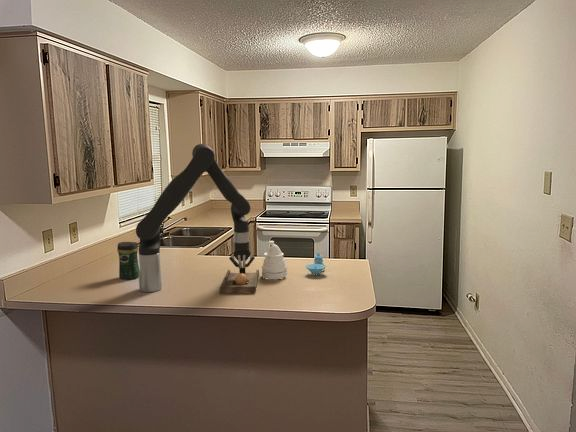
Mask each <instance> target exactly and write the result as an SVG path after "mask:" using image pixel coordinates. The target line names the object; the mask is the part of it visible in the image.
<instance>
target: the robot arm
mask: <svg viewBox="0 0 576 432" xmlns="http://www.w3.org/2000/svg"><path fill="white" fill-rule="evenodd" d="M191 155H192V158H191V160H190V161H189V163H188V165H187V166H186V167H185V168H184V169H183V170H182V171H181V172H180V173H178V174H177V175H176V176H175V177H173V179H172V180H171V181H170V182H169V183H168V185H166V187H165V188H164V190H163V191H162V192H161V194H160V195H159V197H158V198H157V200H156V201H155V203H154V205H153V207H152V208H151V209H150V211H149V212H148V213H147V214H146V215H145V216H144V217H143V218H142V219H141V220H140V221H139V222H138V223H137V224H136V226H135V234H136V236H137V238H138V239H139V246H138V265H139V271H138V273H139V277H138V285H139V287H138V288H139V292H143V293H154V292H159V291H161V290H162V286H163V285H162V284H163V283H162V270H161V268H162V266H161V251H160V250H161V249H160V248H161V229H160V227H161V226H162V224H163V223H164V221H165V219H167V218H168V217H169V216H170V214H171V213H172V212H174V211H175V210H176V209H177V207H178V206H179V205H181V203H182V202H183V200H184V199H185V198H186V197H187V196H188V194H189V193H190V191H191V190H192V189H193V187H194V186H195V184H196V182H197V181H198V180H199V179H200V177H201V176H202V175H203V174H204V173H205V172H206V173H207V174H208V176H209V177H210V178H211V180H212V182H213V183H214V185H215V186H216V188H217V189H218V191H219V192H220V193H221V195H222V196H223V198H224V199H225V200H226V201H227V202H229V203H231V206H230V213H231V218H232V221H233V249H234V250H233V253H232V255H230V256H229V261H230V262H231V263H232V264H233V265H234V266H235V268H238V270H239V271H238V273H243V274H245V273H247V271H246V268H248V267H250V265H251V264H252V263H253V262H254V260H255V258H256V257H255V256H254V255H252V254H251V251H250V233H249V220H248V219H246V217H245V216H246V215H248V214H249V213H250V212H251V205H250V202H249V201H248V200H247V199H246V198H245V196H244V195H242V194H241V193H240V192H239V191H238V189H237V188H236V186H235V185H234V183H233V182H232V181H231V179H230V178H229V176H227V174H226V173H225V172H224V171H223V169H222V168H221V167H220V165H219V164H218V162H217V160H216V159H215V152H214V150H213V149H212V148H211V147H210V146H209V145H207V144H204V143H199V144H196V145H195V146H194V147H193V148H192V152H191ZM236 260H237V261H236ZM247 261H248V262H247Z"/></svg>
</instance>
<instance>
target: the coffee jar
mask: <svg viewBox="0 0 576 432" xmlns="http://www.w3.org/2000/svg"><path fill="white" fill-rule="evenodd" d="M117 253H118V261H119V266H118V267H119V269H118V273H119V274H118V277H119V278H120V279H121V280H122V279H123V280H132V279H133V280H134V279H139V273H138V271H139V270H140V264H139V257H138V253H139V246H138V243H137V242H136V241H121V242H118V243H117Z"/></svg>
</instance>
